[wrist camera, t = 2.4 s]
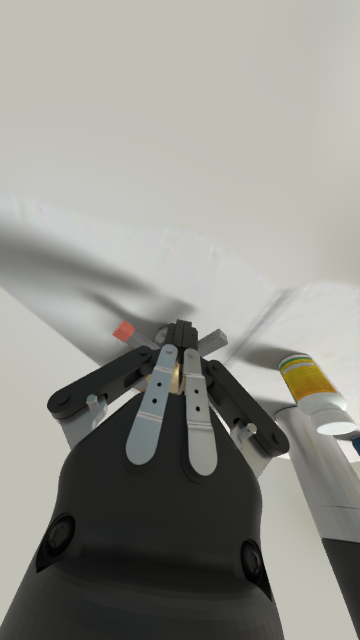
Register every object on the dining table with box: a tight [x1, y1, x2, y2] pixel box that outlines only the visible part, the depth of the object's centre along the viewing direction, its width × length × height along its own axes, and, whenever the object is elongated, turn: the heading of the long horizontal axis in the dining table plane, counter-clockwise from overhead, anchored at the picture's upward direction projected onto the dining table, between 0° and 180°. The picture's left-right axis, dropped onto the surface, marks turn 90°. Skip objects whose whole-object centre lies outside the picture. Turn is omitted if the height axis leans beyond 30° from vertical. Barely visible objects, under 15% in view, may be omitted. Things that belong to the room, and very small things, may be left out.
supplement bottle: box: [279, 355, 357, 435], centre depth 22 cm, size 5×5×10 cm
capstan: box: [112, 320, 228, 393], centre depth 22 cm, size 17×17×7 cm
